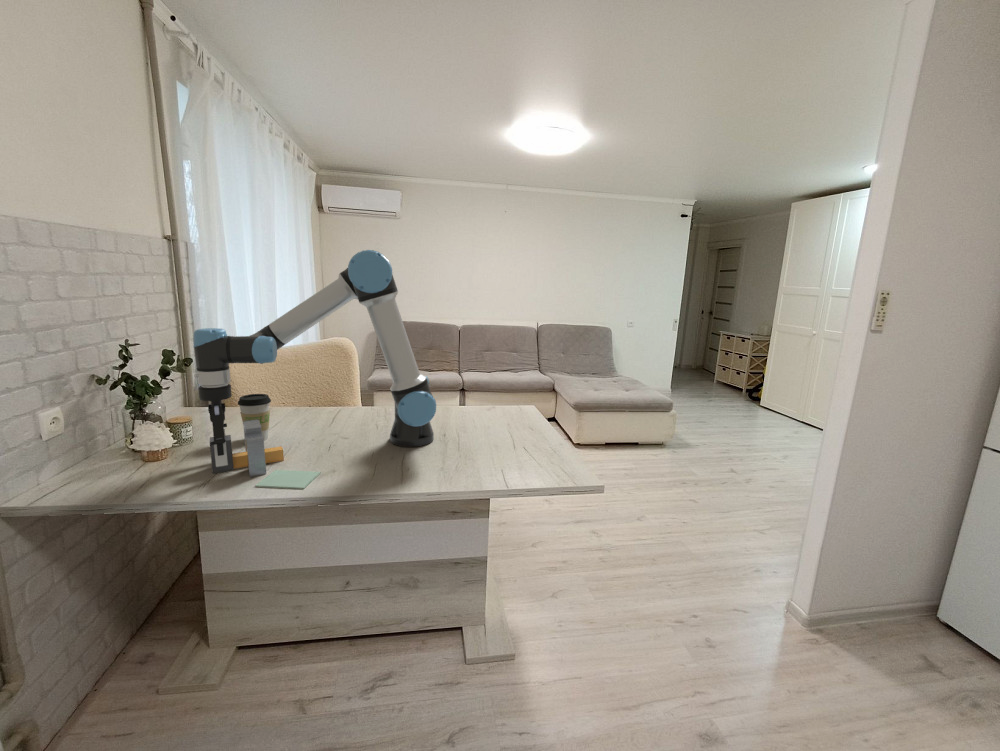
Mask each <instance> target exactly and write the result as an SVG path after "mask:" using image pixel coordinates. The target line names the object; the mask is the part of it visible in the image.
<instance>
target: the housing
mask: <svg viewBox="0 0 1000 751" xmlns="http://www.w3.org/2000/svg"><path fill="white" fill-rule="evenodd" d="M242 424H243V427H242V428H243V436H244V448H245V450H244V452H246V451H247V457H248V466H247V467H248V473H249V477H250V478H251V477H256V476H263V475H267V467H266V465H267V463H265V450H264V449H265V440H264V438H263V435H262V431H261V425H260V422H259V420H258V419H256V420H247V421H243V422H242Z"/></svg>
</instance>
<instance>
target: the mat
mask: <svg viewBox="0 0 1000 751" xmlns="http://www.w3.org/2000/svg"><path fill="white" fill-rule="evenodd" d="M319 475H321V471H313V470H312V471H310V470H309V471H308V470H292V469H291V470H289V469H275V470H274V471H272V472H271V473H270V474H268V475H267V476H266V477H264V478H263V479H262V480H260V481H259V482H258V483H256V484H255V485H254V486H255V488H258V487H259V488H271V489H272V488H274V489H275V488H276V489H277V488H278V489H293V490H294V489H297V490H305V489H306V488H307V487H308V486H309V485H310V484H311V483H312V482H313V481H314V480H315V479H316V478H317V477H318V476H319Z"/></svg>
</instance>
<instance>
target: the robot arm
mask: <svg viewBox="0 0 1000 751" xmlns="http://www.w3.org/2000/svg"><path fill="white" fill-rule="evenodd" d="M337 277H338V278H336V280H334V281H331V283H329V284H328V285H326V286H325V287H323V288H322V289H320V290H319V291H317V292H316V293H314V294H313V295H311V296H310V297H308V298H307V299H305V300H304V301H302V302H301V303H299V304H298V305H296V306H295V307H293V308H291V309H290V310H289V311H287V312H285V313H284V314H282V315H281V316H280V317H278V318H276V319H274V321H272V322H271V323H269V324H268V325H266V326H264V327H263V328H261V329H260V330H258V331H257V332H255V333H253V334H250V335H247V336H246V335H245V336H243V335H238V336H235V335H234V336H233V335H228V334H227V330H225V328H216V327H214V328H213V327H210V328H206V327H205V328H198V329H195V330H194V331H193V350H194V351H193V352H194V357H195V366H196V373H194V377H195V378H197V384H198V385H199V387H198V398H199V400H201V401H202V402H210V404H207V406H208V407H207V409H208V413H209V421H210V422H211V423H212V424H211V425H212V433H213V435H212V437H214V441H213V442H211V445H214V452H215V462H216V467H219V466H225V465H228V462H227V451H226V440H225V435H226V428H227V427H228V424H227V422H226V423H225V420H226V403H225V402H224V403H223V402H222V401H224V400H228V399H230V398H232V395H233V394H232V385H231V382H232V381H231V371H230V370H231V369H230V364H261V365H263V364H270V363H274V362H275V361H276V360H277V357H278V350H280V348H282V347H284V346H286V345H287V344H288V343H290V342H291V341H293V340H294V339H295V338H298V337H299V336H300V335H301V334H303V333H305V332H306V331H307V330H309V329H311V328H312V327H314V326H315V325H316V324H318V323H320V322H321V321H323V320H324V319H326V318H327V317H329V316H330V315H332V314H333V313H335V312H336V311H338V310H339V309H341V308H343V306H345V305H347V304H348V303H350V302H351V301H353V300H357V301H358V303H359V304H360V305H362V306H364V307H365V308H366V309H367V313H368V315H369V318H370V321H371V323H372V327H373V329H374V332H375V335H376V338H377V340H378V343H379V347H380V348H381V349H380V350H381V352H382V355H383V358H384V361H385V363H386V366H387V369H388V371H389V375H390V377H391V380H392V383H391V386H390V387H389V389H390V392H391V394H392V398H393V401H394V421H393V424H392V427H391V430H390V433H389V441H390V443H391V444H393V445H395V446H397V447H405V448H412V447H413V448H414V447H422V446H426V445H428V444H430V443H432V442H433V441H434V439H435V437H434V435H435V434H434V430H433V428H432V424H431V421H432V420H433V419H434V418H435V417H434V416H435V415H436V412H437V401H436V399H435V398H434V396H433V393H432V390H431V387H430V382H429V377H428V376H427V375H424V374H422V373H421V372H420V370H419V366H418V364H417V361H416V358H415V355H414V352H413V349H412V346H411V343H410V339H409V337H408V334H407V332H406V331H407V330H406V327H405V325H404V322H403V318H402V315H401V313H400V310H399V306H398V303H397V301H396V297H397V295H398V294H399V289H398V288H397V284H396V281H395V278H394V275H393V267H392V265H391V263H390V260H389V259H388V258H387V257H386V256H385V255H384V254H383V253H381V252H379V251H376V250H374V249H365V250H361V251H358V252H357V253H355V254H354V255H353V256H352V257H351V259H350V260H349V262H348V265H347V267H346V268H345V269H344V270H343V271H341V272H340V273H339V274H338V276H337ZM219 438H222V439H219ZM216 439H217V440H216Z"/></svg>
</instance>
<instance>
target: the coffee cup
mask: <svg viewBox="0 0 1000 751" xmlns="http://www.w3.org/2000/svg"><path fill="white" fill-rule="evenodd" d="M237 401H238V402H237V405H238V406H239V410H240V416H241V421H242V423H243V421H247V420H256V419H258V420H259V422H260V425H261V431H262V435H263V438H264V441H266V440H268V438H269V428H270V414H271V413H270V412H271V409H270V405H271V404H270V403H271V402H272V400H271V398H270V396H269V394H265V393H249V394H245V395H242V396H240V397H239V400H237Z"/></svg>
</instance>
